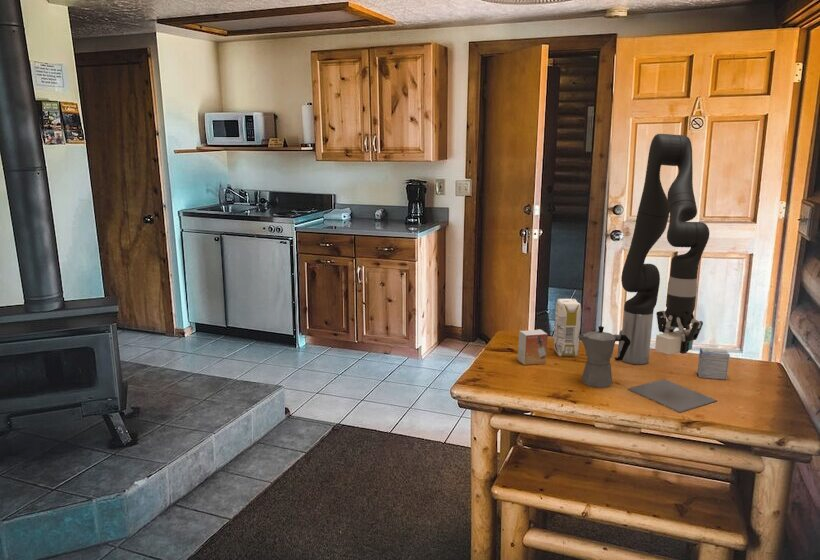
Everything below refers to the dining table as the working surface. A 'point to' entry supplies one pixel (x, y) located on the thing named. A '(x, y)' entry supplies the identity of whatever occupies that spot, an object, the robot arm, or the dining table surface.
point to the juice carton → (567, 327)
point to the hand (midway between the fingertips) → (675, 350)
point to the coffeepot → (600, 356)
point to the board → (672, 395)
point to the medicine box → (713, 363)
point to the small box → (532, 347)
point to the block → (670, 342)
